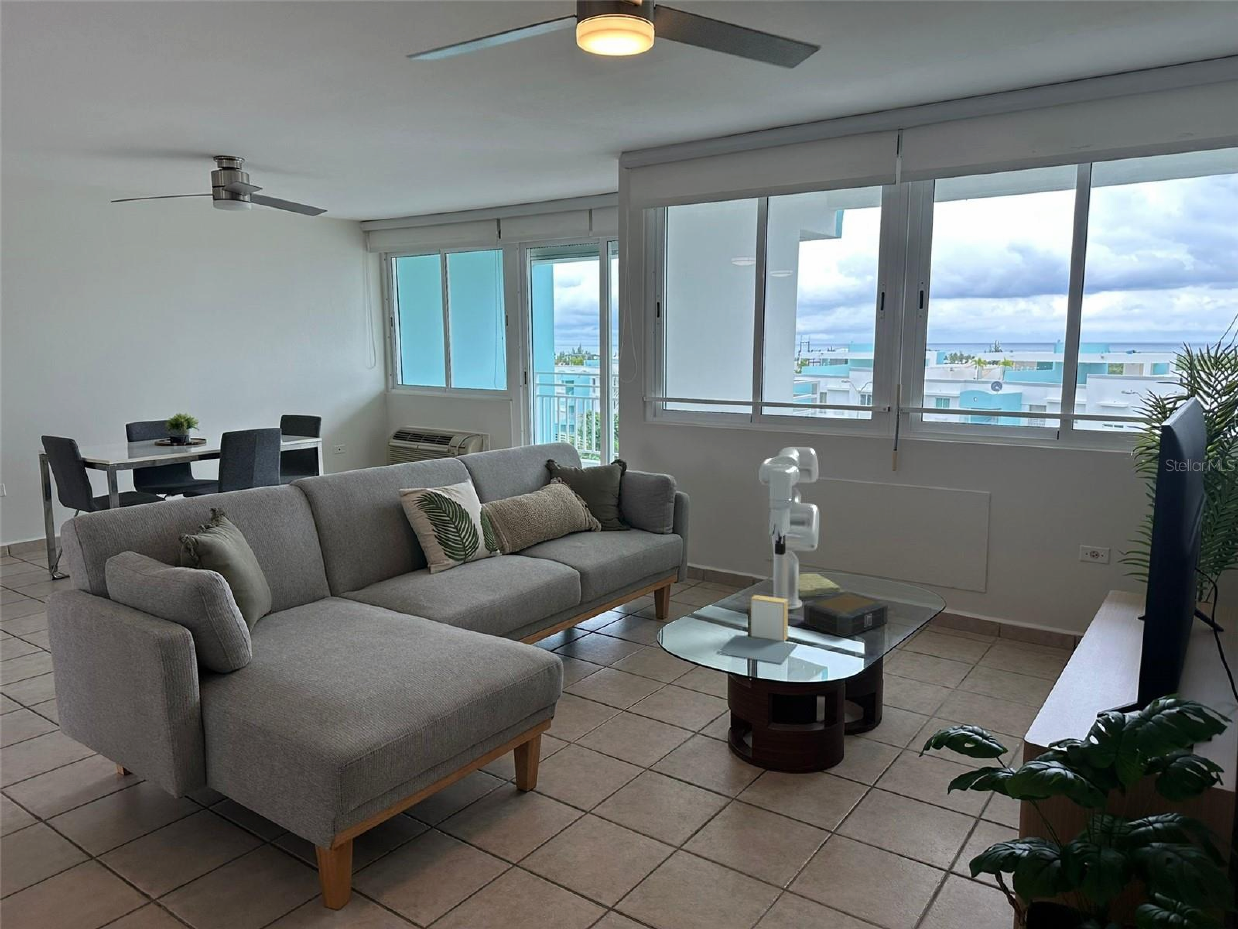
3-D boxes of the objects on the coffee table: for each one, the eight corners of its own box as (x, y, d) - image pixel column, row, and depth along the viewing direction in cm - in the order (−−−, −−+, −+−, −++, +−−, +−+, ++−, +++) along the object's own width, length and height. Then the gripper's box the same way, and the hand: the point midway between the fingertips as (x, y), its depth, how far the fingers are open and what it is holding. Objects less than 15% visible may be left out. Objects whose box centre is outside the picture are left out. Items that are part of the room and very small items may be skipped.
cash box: (846, 639, 288) (846, 618, 286) (801, 623, 304) (801, 603, 303) (891, 623, 302) (891, 603, 301) (846, 609, 318) (846, 589, 317)
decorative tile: (816, 579, 357) (817, 571, 356) (840, 593, 338) (841, 585, 337) (777, 584, 352) (777, 575, 352) (799, 598, 333) (799, 589, 332)
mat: (735, 635, 292) (735, 634, 292) (797, 645, 282) (797, 644, 282) (716, 653, 277) (716, 652, 277) (781, 664, 267) (781, 663, 266)
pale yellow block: (754, 632, 295) (754, 595, 293) (787, 638, 289) (787, 599, 287) (750, 636, 291) (750, 598, 289) (783, 642, 286) (784, 603, 283)
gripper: (777, 498, 302) (776, 547, 305) (763, 506, 289) (763, 558, 292) (797, 500, 299) (796, 549, 301) (784, 508, 285) (784, 560, 288)
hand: (780, 553), depth 297 cm, fingers closed
